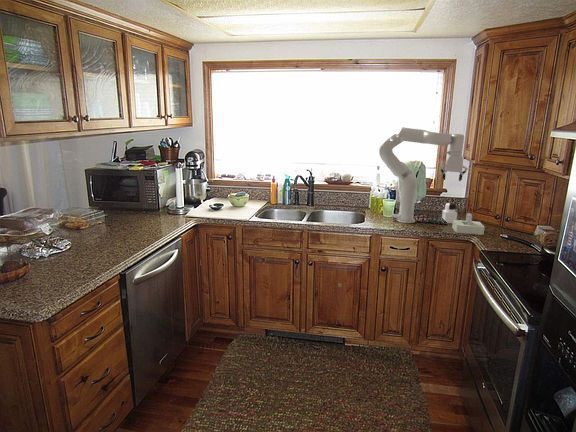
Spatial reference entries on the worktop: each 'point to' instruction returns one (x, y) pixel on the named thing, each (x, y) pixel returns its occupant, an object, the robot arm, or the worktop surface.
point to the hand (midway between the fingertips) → (451, 180)
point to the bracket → (468, 219)
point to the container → (449, 213)
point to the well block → (468, 227)
